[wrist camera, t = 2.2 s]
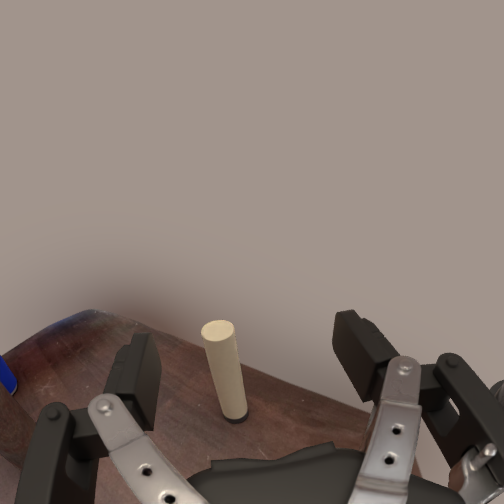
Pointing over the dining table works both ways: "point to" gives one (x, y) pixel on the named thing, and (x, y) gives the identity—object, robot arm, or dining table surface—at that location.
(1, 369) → the beverage can
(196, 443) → the dining table surface
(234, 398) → the beige cylinder
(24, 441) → the candle
